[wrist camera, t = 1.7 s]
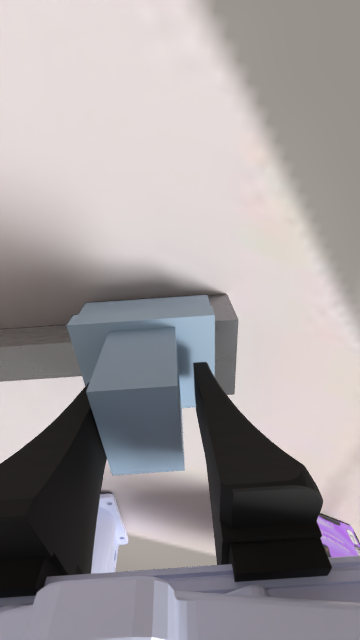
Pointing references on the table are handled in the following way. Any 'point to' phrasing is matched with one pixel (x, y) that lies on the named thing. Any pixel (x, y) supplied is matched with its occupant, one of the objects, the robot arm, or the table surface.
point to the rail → (60, 359)
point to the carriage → (143, 375)
